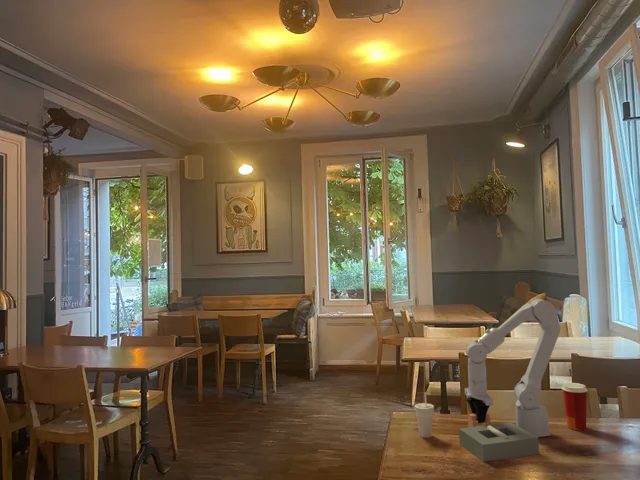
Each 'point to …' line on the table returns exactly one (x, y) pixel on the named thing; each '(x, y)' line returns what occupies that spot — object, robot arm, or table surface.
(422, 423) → the smoothie
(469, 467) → the table surface
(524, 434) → the grey panel with window
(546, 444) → the table surface
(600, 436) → the table surface
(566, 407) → the paper cup
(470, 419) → the orange arch block
